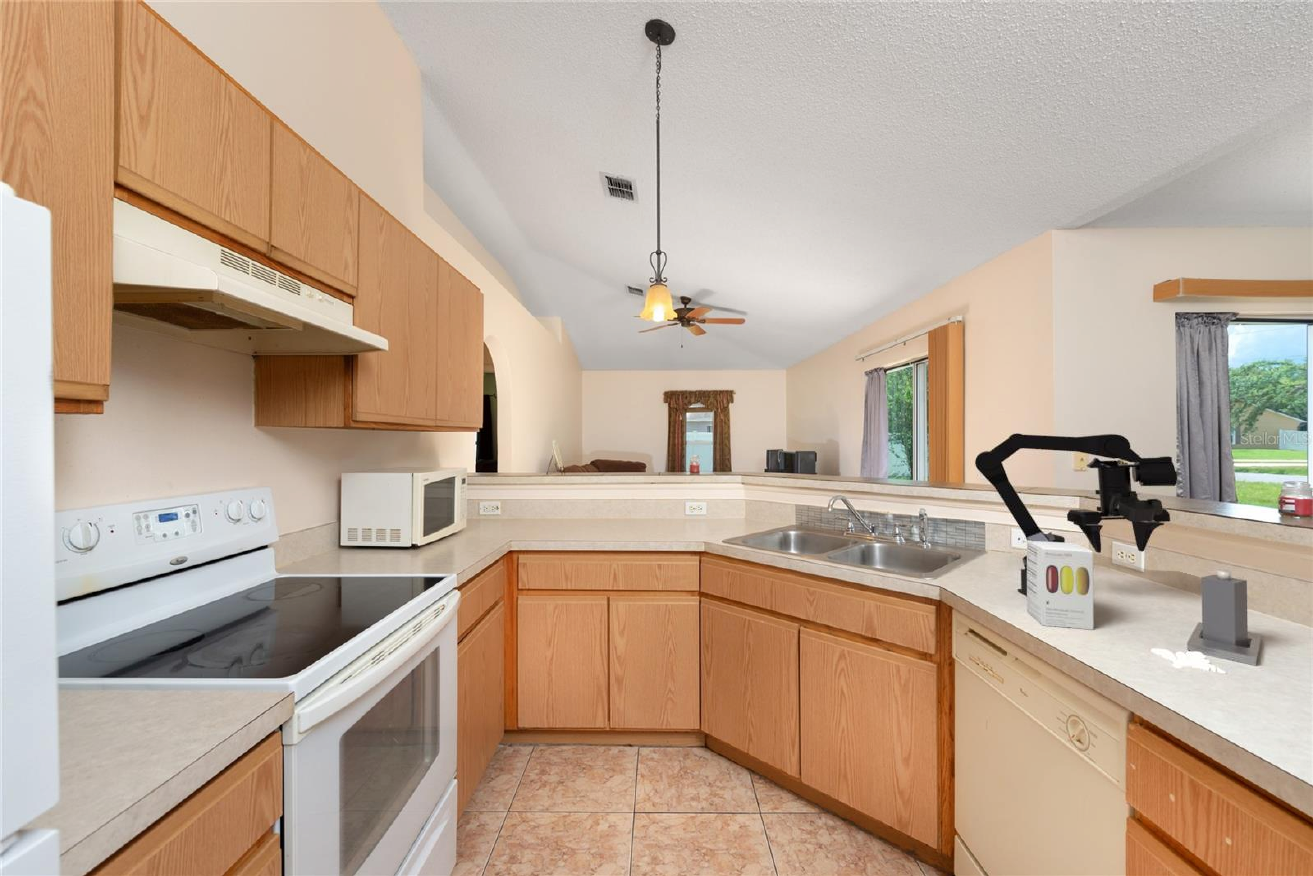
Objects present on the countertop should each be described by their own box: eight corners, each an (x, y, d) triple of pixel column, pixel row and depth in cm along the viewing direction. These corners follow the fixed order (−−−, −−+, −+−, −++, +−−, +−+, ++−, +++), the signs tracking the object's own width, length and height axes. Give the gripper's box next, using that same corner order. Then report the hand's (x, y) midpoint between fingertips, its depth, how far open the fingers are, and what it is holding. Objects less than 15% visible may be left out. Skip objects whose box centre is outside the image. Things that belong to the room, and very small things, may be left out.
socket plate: (1255, 665, 89) (1255, 654, 89) (1187, 650, 96) (1187, 639, 96) (1261, 641, 99) (1261, 631, 99) (1198, 629, 106) (1198, 619, 106)
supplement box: (1042, 626, 109) (1040, 548, 109) (1025, 611, 118) (1024, 539, 118) (1096, 630, 106) (1094, 550, 106) (1075, 615, 115) (1073, 541, 115)
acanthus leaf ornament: (1150, 655, 96) (1150, 645, 96) (1196, 659, 94) (1196, 649, 94) (1176, 672, 89) (1176, 662, 89) (1227, 677, 87) (1227, 666, 87)
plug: (1202, 643, 99) (1201, 569, 99) (1215, 640, 100) (1213, 567, 100) (1235, 652, 95) (1234, 575, 94) (1247, 648, 96) (1246, 572, 96)
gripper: (1096, 491, 114) (1101, 560, 114) (1189, 487, 112) (1195, 558, 111) (1063, 487, 125) (1068, 550, 125) (1147, 483, 123) (1152, 548, 122)
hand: (1119, 551), depth 121 cm, fingers open, 9 cm apart
